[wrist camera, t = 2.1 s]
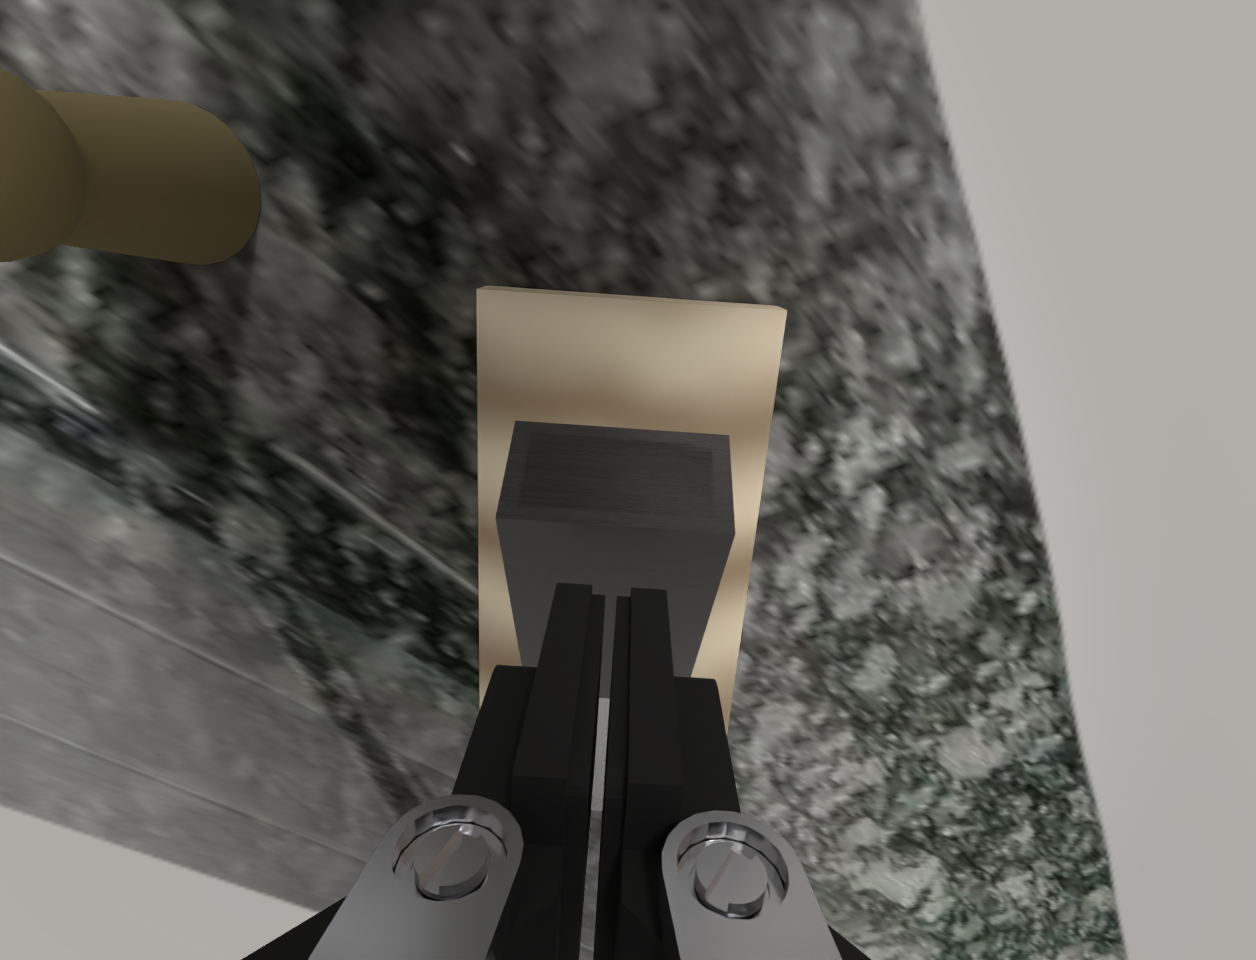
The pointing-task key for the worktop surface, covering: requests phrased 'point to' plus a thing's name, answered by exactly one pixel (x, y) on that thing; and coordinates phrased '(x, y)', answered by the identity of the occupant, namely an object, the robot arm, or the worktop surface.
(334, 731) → the worktop surface
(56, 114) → the cork
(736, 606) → the nutcracker base
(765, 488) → the worktop surface
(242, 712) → the worktop surface
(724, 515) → the lever
